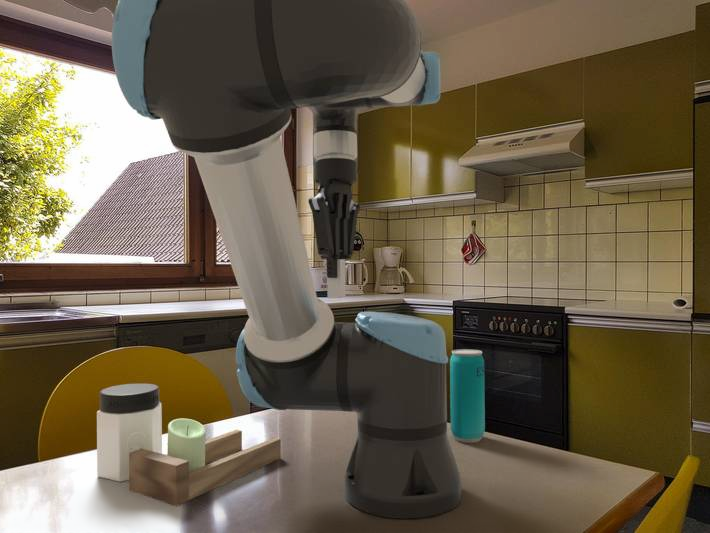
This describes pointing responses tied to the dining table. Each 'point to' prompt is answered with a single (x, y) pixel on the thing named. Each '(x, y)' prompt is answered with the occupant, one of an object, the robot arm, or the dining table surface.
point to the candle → (187, 442)
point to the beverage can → (467, 395)
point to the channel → (179, 485)
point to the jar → (127, 427)
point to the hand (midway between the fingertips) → (336, 297)
